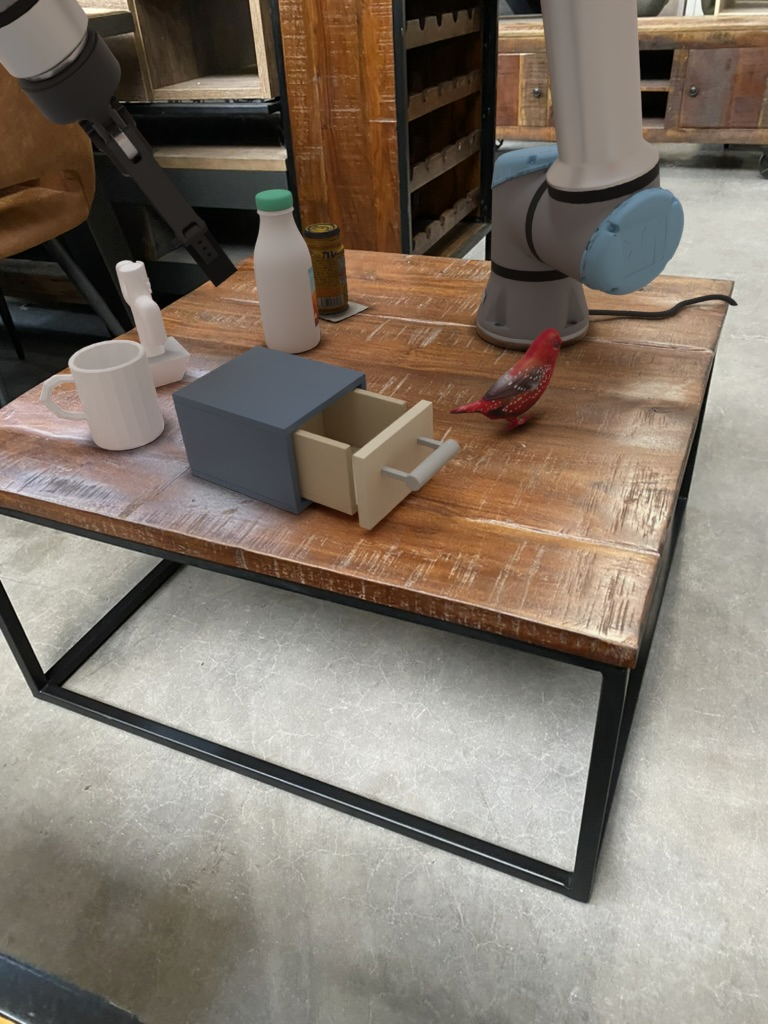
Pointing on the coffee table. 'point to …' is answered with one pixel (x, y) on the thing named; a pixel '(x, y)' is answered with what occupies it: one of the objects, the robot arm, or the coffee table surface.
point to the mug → (112, 394)
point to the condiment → (329, 272)
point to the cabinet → (257, 420)
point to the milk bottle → (284, 277)
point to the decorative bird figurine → (520, 383)
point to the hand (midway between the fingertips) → (198, 243)
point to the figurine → (151, 325)
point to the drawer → (368, 454)
